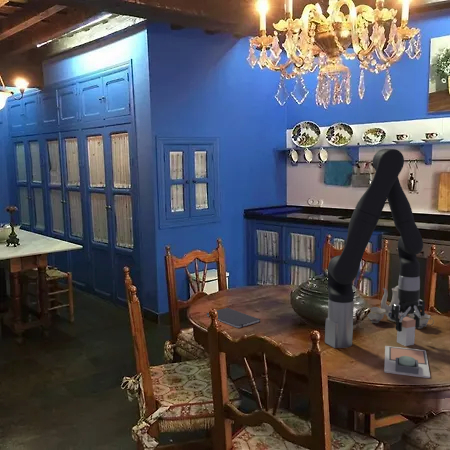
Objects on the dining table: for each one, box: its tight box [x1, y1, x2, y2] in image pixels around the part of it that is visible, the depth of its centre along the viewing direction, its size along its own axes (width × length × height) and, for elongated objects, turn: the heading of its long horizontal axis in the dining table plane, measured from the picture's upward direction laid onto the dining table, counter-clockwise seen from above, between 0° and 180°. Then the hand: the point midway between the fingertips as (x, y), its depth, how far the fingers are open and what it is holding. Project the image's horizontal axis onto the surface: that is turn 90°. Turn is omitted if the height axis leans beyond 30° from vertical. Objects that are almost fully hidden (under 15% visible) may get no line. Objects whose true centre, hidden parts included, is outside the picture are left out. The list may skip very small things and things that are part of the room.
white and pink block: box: [396, 317, 416, 347], centre depth 192 cm, size 4×4×10 cm
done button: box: [399, 356, 415, 367], centre depth 168 cm, size 5×5×2 cm
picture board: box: [383, 345, 431, 379], centre depth 176 cm, size 22×14×3 cm, turn 162°
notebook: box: [206, 307, 261, 329], centre depth 220 cm, size 13×2×21 cm
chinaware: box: [367, 285, 435, 329], centre depth 215 cm, size 28×17×17 cm, turn 72°
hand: (407, 329), depth 192 cm, fingers open, 8 cm apart
